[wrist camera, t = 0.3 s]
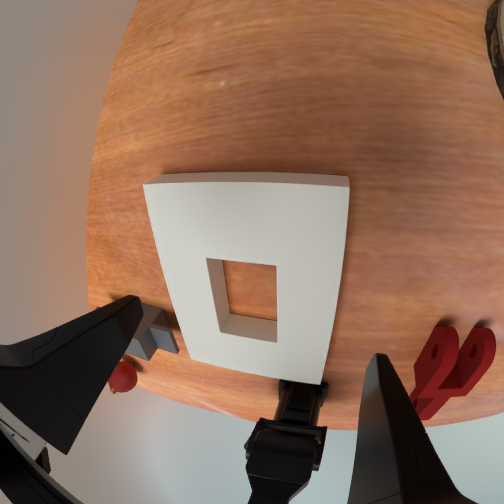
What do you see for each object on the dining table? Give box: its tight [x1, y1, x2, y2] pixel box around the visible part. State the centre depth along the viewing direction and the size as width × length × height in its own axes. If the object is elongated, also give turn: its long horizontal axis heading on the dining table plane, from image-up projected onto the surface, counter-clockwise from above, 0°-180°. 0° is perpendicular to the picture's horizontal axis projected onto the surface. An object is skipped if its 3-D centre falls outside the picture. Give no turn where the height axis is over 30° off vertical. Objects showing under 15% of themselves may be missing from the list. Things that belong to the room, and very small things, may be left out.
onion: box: [108, 361, 137, 394], centre depth 43 cm, size 6×6×8 cm
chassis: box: [143, 172, 350, 385], centre depth 25 cm, size 22×16×3 cm
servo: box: [95, 303, 179, 361], centre depth 32 cm, size 13×4×7 cm, turn 94°
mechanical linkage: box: [410, 326, 496, 420], centre depth 23 cm, size 16×7×5 cm, turn 3°
